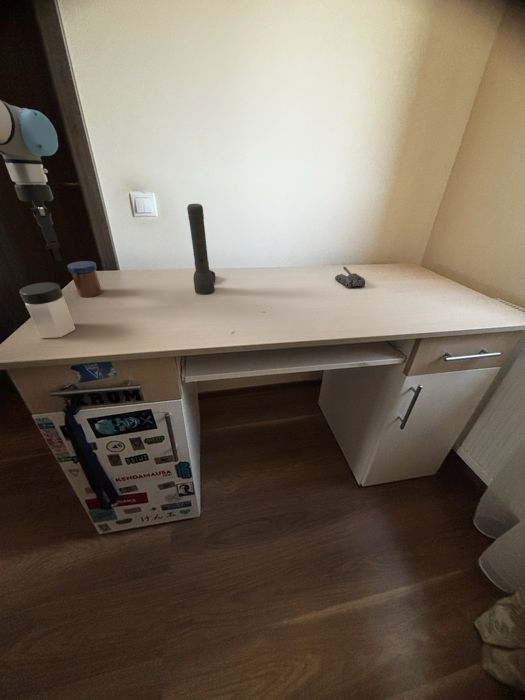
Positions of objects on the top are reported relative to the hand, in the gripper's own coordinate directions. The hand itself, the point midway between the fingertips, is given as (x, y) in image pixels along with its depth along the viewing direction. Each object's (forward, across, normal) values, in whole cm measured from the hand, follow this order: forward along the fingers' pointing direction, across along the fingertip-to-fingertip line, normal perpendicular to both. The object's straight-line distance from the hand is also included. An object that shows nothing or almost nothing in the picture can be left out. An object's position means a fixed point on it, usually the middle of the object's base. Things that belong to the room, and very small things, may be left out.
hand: (59, 265), depth 84 cm
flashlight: (+11, -14, -40) cm, 44 cm away
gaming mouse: (+11, -6, -45) cm, 47 cm away
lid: (+2, +5, -6) cm, 8 cm away
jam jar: (+12, +5, -6) cm, 14 cm away
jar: (+12, -19, +6) cm, 23 cm away
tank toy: (+11, -36, -93) cm, 101 cm away
